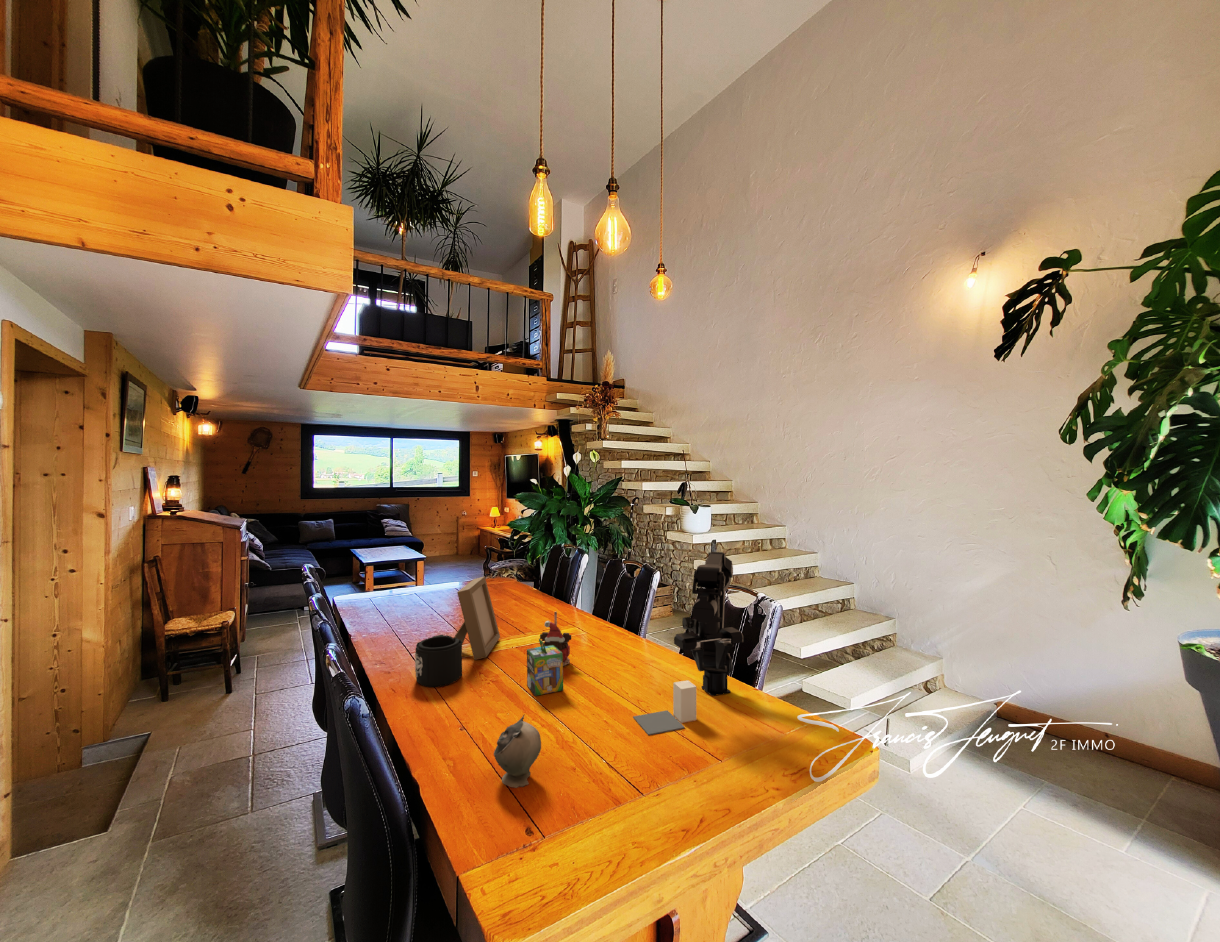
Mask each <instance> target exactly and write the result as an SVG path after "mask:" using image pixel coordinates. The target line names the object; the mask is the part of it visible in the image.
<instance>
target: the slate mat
mask: <svg viewBox="0 0 1220 942" xmlns="http://www.w3.org/2000/svg"><path fill="white" fill-rule="evenodd" d="M632 718H633V719H634V721H636V723H637V724H638V725H639V727H640V728H641V729H642V730H643V731H644V732H645V733H646V734H647V736H652V735H657V734H662V733H666V732H667V733H668V732H673V731H678V730H682V729H683V730H684V729H686V727H685V726H684V725H683V723H681V722H679V721H678V720H677V719H676V718H675V717H674V716H673V714H672V713H671V712H670V711H669V710H668V709H667V710H662V711H656V712H650V713H645V714H638V715H633V716H632Z"/></svg>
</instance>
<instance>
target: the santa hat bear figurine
mask: <svg viewBox="0 0 1220 942" xmlns="http://www.w3.org/2000/svg"><path fill="white" fill-rule="evenodd" d="M557 614H558V612H557V611H554V615H553V617H554V622H552V621H550V620H546V621H545V622H544V627H545V628H549V631H543V632H542V633H540V635H539V639H540V640H541V641H543V643H544V645H545V646H551V645H554V646H555V647H556V648H557V649H559V650H560V651H561V652H562V654H563V667H565V666H566V665H569V664H570V661H571V659H570V658H569V656H570V653H571V652H570V651H571V646H570V645H569V642H570V641H571V640H572V634H570V632H562V630H561V628H559V627H558V621H557V620H558V619H557V618H558V615H557Z"/></svg>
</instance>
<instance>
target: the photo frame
mask: <svg viewBox="0 0 1220 942" xmlns="http://www.w3.org/2000/svg"><path fill="white" fill-rule="evenodd" d="M456 593H457V597H458V601H459V604H460V609H461V613H462V616H463V619H464V621H463V622H462V624H461V625H460V627H459V629H458V630H457V632H456V633H455V634H454V636H453V638H457V639H459V640H461V641H462V645H463V644H464V641H465V639H466V636H467V635H468V640H469V644H470V648H471V652H472V656H473V660H474V661H476V660H479V659H480V660H481V659H484V658H487V657H488V655H489V654H490V653H491V651H492V650H493V648H494V647H495V645H496V644H497V642H498V641H499V639H500V638H501V635H500V631H499V628H498V627H499V626H498V624H497V619H496V615H495V610H494V608H493V607H494V606H493V604H492V599H491V595H490V592H489V588H488V584H487V579H486V576H481V577H478V578H477V577H476V578H474V579H472V580H471V581H469V582H468V583H467V584H466V585H465V586H463V587H462V588H460V589H459V590H458V591H457V592H456Z"/></svg>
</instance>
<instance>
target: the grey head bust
mask: <svg viewBox="0 0 1220 942" xmlns="http://www.w3.org/2000/svg"><path fill="white" fill-rule="evenodd" d="M524 719H525V714H523V715H522V717H521V718H520V719H519V720H518V721H516V722H515V723H514V724H510V725H509V726H507V727H506V728H505V730H504V731H502V732H501V733H500V735H499V737H498V739H497V741H496V745H497V746H496V747H495V749H494V751H493V757H494V759H495V761H496V763H497V765H498V766H499V767H500V768H501V769H502V770H503V771H504V772H505V774H503V776H502V777H501V782H502V784H504V785H505V786H508V787H509V788H515V789H517V788H524V787H525V786H528V785H529V784H530V783H529V781H528V778H529V777H530V776H531V775H532V774H531V771H530V769H531V768H532V765H533V764H534V763H535V761H536V760H537V759H538V757H539V755H540V753H541V750H542V739H541V735H540V732H539V730H538V729H537V728H536V727H535V726H533V725H532V724H530V723H528V722H526V721H524Z"/></svg>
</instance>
